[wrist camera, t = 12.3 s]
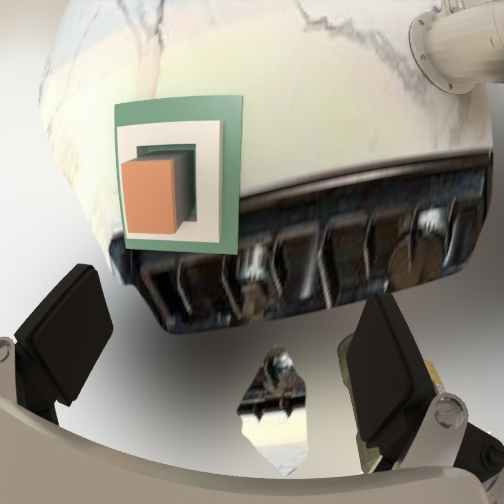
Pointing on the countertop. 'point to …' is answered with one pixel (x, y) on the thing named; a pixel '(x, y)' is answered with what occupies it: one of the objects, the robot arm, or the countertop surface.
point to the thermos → (366, 455)
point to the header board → (205, 165)
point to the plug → (158, 191)
